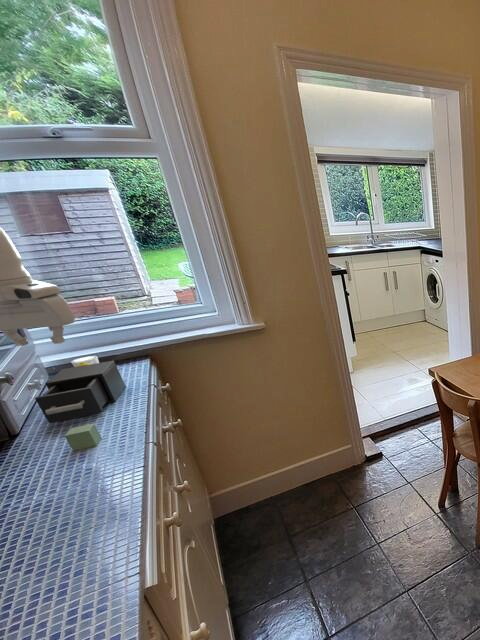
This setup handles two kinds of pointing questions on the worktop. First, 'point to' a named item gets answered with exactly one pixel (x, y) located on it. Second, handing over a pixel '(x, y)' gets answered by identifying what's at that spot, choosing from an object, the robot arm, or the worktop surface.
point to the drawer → (73, 399)
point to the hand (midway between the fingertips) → (41, 344)
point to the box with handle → (104, 370)
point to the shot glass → (85, 360)
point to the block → (83, 437)
